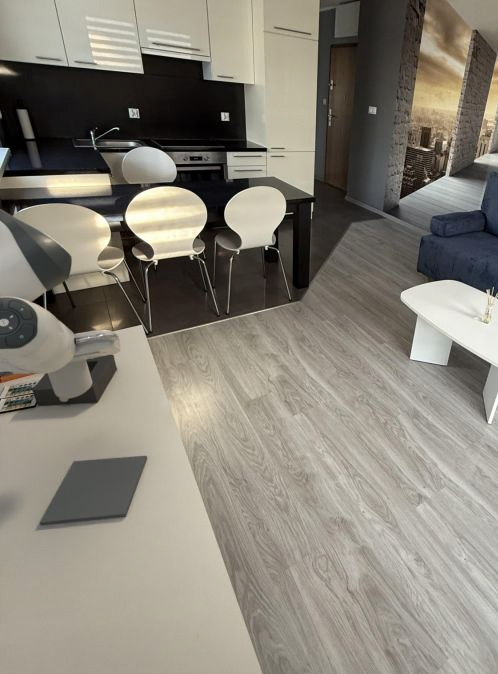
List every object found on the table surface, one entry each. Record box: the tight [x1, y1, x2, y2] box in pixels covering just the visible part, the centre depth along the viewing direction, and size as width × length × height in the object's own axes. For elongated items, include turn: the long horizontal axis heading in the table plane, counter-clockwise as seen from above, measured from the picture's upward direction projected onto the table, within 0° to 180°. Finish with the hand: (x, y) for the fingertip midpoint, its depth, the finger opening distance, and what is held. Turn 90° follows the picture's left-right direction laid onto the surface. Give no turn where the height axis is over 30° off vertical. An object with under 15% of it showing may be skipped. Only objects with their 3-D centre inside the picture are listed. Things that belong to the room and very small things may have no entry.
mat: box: [39, 455, 148, 526], centre depth 77 cm, size 14×13×1 cm
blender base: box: [31, 354, 118, 407], centre depth 100 cm, size 13×14×5 cm
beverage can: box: [48, 360, 92, 398], centre depth 78 cm, size 6×6×12 cm
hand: (65, 359), depth 78 cm, fingers closed on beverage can, 6 cm apart
